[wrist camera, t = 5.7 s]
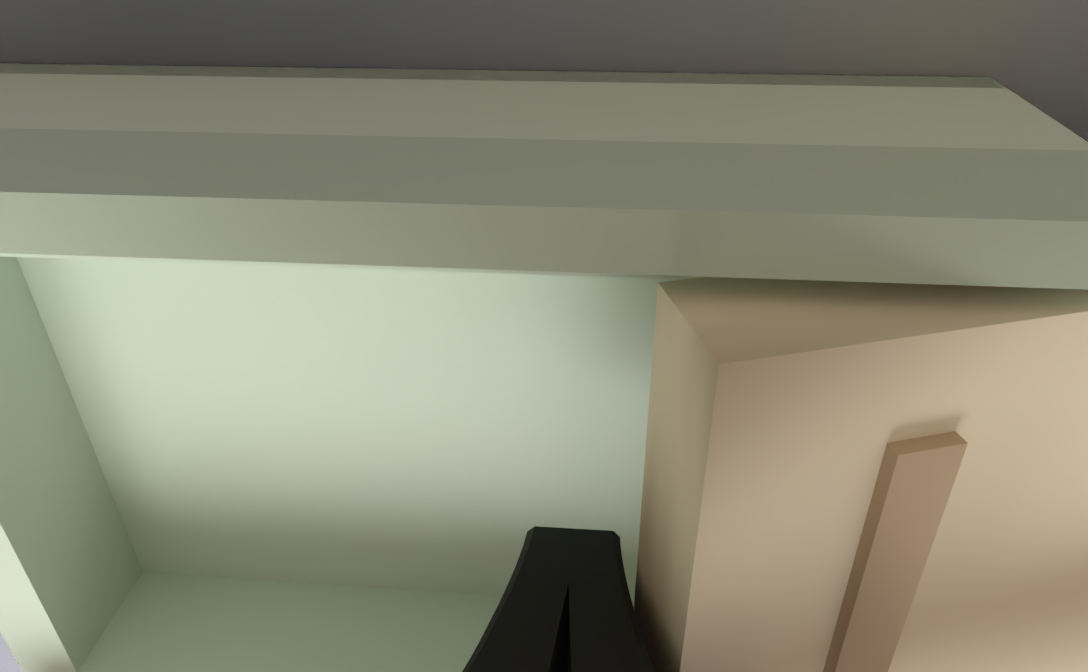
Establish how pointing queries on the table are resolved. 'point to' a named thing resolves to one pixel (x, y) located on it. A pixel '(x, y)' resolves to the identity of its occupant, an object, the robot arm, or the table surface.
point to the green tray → (416, 322)
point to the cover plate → (865, 478)
